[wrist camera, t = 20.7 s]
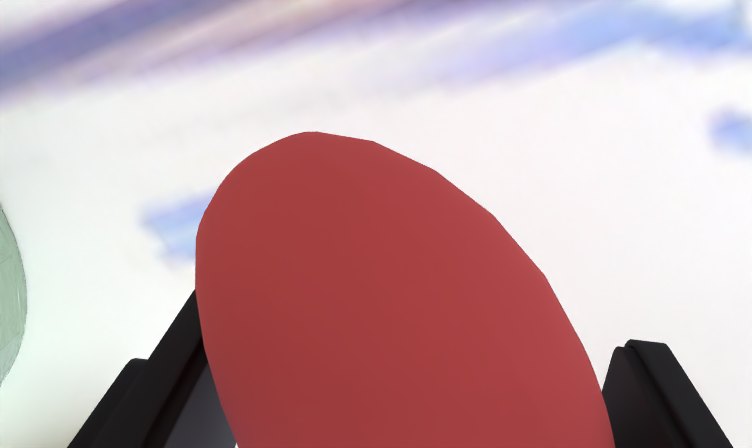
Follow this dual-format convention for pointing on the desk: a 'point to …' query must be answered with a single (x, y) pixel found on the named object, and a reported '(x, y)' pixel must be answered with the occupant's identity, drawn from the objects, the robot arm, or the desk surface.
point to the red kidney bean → (381, 311)
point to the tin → (10, 298)
